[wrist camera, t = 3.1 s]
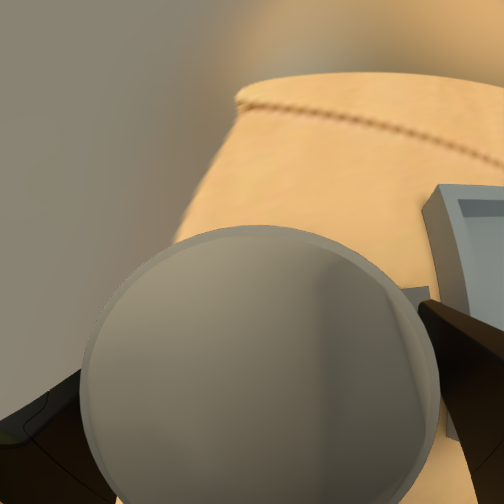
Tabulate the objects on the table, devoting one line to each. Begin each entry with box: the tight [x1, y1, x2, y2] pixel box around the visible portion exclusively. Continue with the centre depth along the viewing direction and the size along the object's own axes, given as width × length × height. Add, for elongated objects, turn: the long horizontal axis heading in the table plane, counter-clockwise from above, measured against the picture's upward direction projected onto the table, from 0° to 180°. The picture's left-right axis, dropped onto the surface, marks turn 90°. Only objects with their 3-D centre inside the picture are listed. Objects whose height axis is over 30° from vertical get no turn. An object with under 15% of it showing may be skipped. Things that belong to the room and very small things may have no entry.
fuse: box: [80, 225, 440, 504], centre depth 8 cm, size 3×3×13 cm
